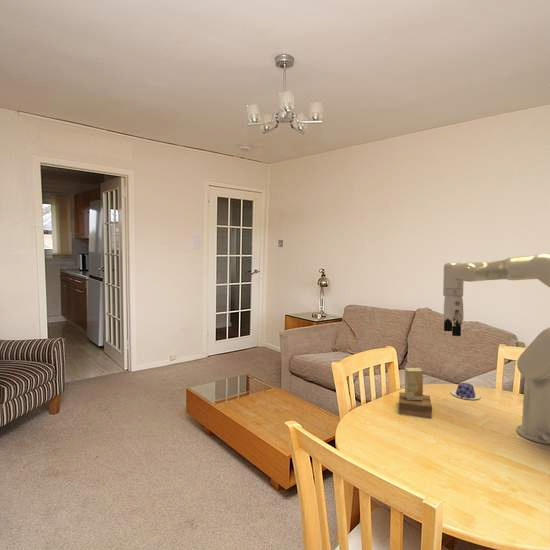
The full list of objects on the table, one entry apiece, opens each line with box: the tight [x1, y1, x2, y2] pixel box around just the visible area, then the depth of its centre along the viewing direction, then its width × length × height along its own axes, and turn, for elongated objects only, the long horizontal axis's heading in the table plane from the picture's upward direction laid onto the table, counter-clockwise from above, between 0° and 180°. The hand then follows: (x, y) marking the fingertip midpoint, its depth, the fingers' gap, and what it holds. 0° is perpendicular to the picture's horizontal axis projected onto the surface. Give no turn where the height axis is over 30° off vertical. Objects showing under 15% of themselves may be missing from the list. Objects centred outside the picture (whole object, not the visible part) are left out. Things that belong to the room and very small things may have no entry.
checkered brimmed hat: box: [450, 382, 481, 400], centre depth 171 cm, size 12×12×5 cm
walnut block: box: [398, 391, 433, 419], centre depth 154 cm, size 12×12×5 cm
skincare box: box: [404, 367, 424, 400], centre depth 153 cm, size 6×4×12 cm
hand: (452, 333), depth 156 cm, fingers open, 9 cm apart
